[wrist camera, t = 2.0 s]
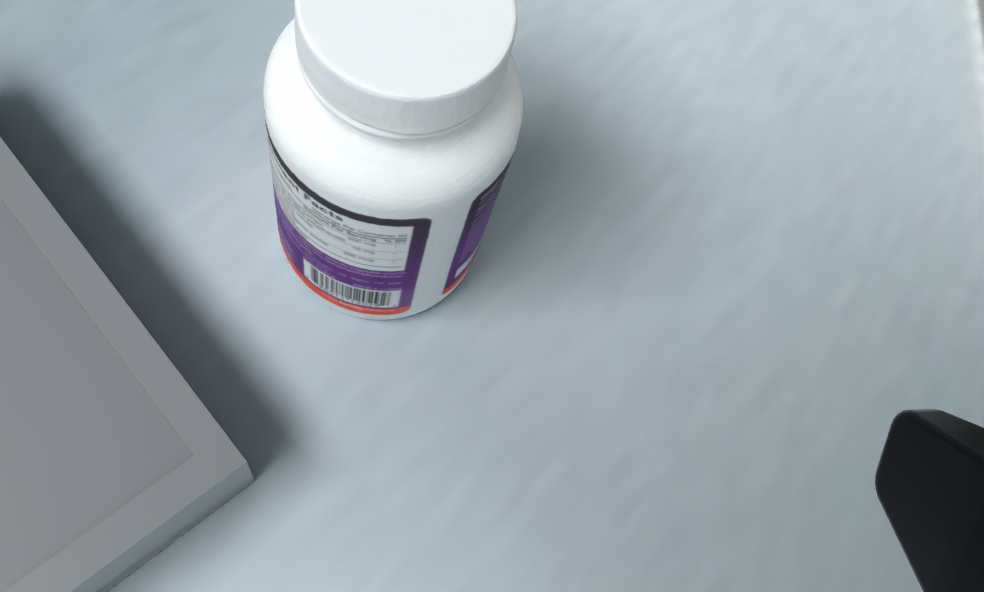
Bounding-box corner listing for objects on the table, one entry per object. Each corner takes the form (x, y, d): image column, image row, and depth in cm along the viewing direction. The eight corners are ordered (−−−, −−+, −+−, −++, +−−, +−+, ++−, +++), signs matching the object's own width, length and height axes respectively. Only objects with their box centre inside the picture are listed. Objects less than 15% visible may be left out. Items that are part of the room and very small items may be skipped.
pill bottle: (415, 119, 27) (464, -149, 18) (510, 272, 25) (614, 67, 16) (242, 192, 25) (198, -66, 16) (335, 359, 24) (344, 184, 15)
